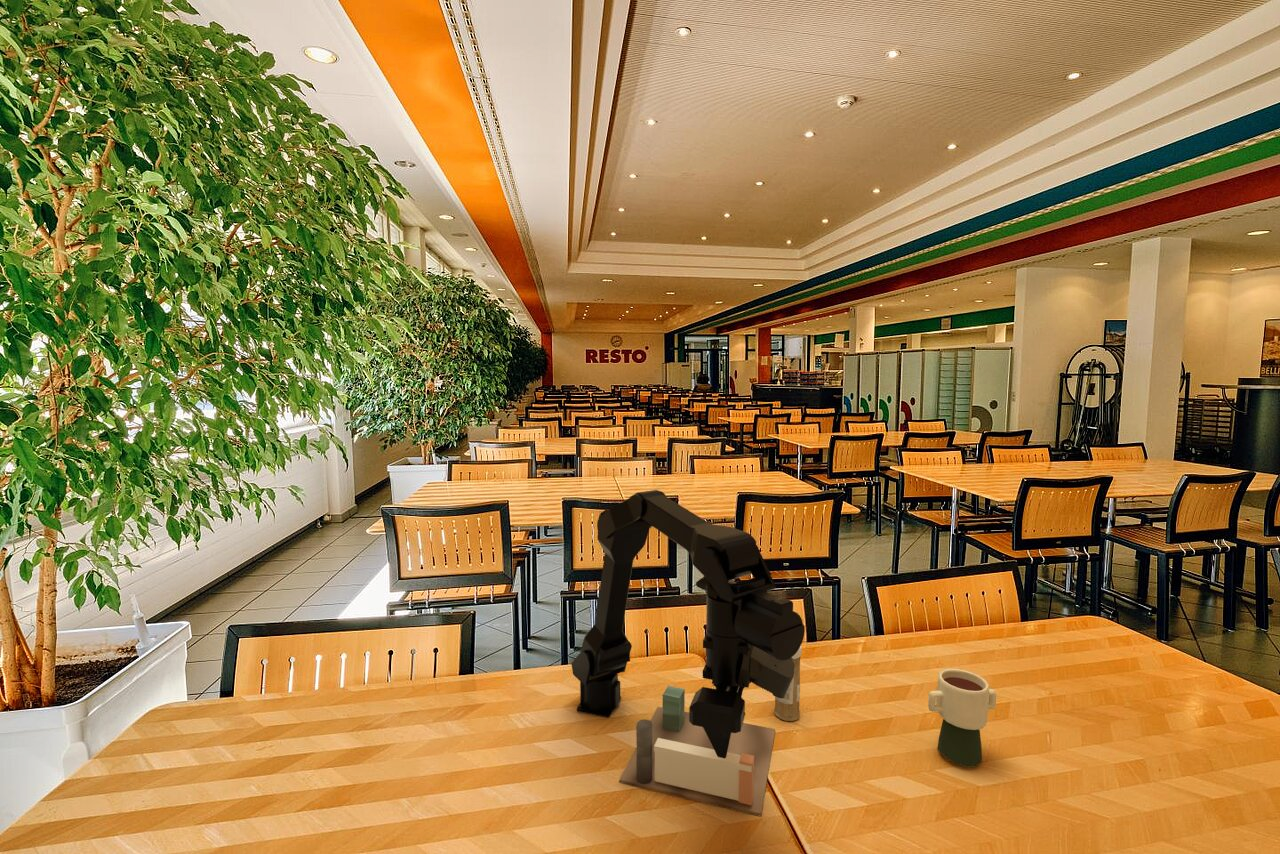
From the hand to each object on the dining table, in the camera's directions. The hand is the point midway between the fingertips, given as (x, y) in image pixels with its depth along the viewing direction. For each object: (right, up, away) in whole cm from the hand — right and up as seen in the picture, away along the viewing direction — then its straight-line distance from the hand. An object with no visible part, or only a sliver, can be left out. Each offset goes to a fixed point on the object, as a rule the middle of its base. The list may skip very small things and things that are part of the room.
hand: (726, 740), depth 77 cm
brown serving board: (-2, -11, +15) cm, 19 cm away
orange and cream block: (-3, -11, +7) cm, 13 cm away
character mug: (+39, -11, +15) cm, 43 cm away
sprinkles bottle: (+15, -10, +26) cm, 32 cm away
